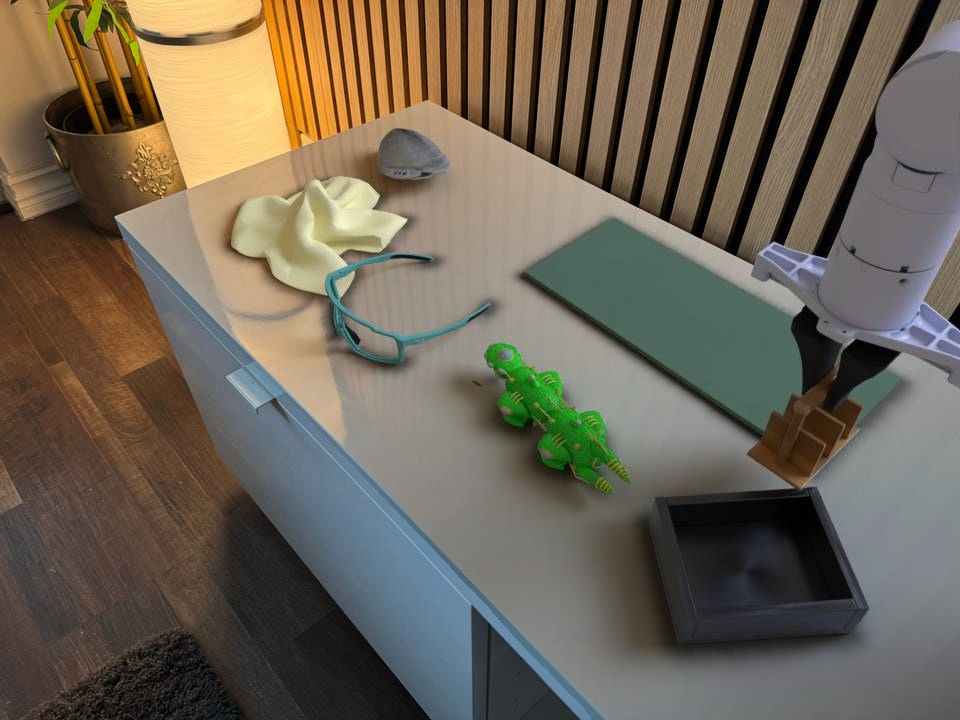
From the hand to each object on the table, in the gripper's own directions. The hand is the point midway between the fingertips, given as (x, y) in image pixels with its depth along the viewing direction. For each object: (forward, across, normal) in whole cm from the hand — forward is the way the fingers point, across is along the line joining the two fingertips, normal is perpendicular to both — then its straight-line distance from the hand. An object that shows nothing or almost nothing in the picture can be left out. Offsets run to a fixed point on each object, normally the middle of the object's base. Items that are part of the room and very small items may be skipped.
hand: (823, 396), depth 53 cm
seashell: (+11, -58, +6) cm, 59 cm away
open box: (+10, +3, -9) cm, 14 cm away
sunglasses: (+11, -38, -10) cm, 40 cm away
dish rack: (+5, 0, 0) cm, 5 cm away
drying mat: (+10, -16, +10) cm, 22 cm away
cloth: (+11, -54, -9) cm, 56 cm away
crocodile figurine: (+11, -17, -10) cm, 22 cm away
